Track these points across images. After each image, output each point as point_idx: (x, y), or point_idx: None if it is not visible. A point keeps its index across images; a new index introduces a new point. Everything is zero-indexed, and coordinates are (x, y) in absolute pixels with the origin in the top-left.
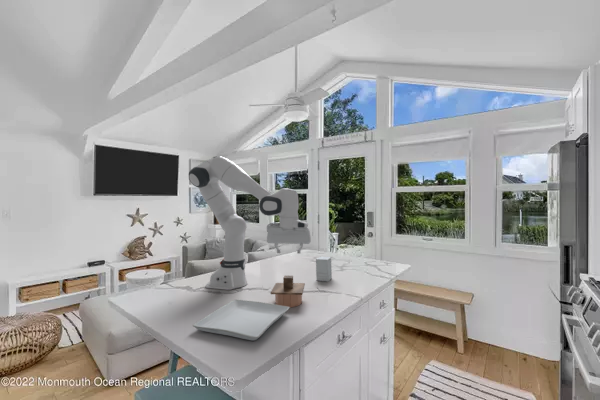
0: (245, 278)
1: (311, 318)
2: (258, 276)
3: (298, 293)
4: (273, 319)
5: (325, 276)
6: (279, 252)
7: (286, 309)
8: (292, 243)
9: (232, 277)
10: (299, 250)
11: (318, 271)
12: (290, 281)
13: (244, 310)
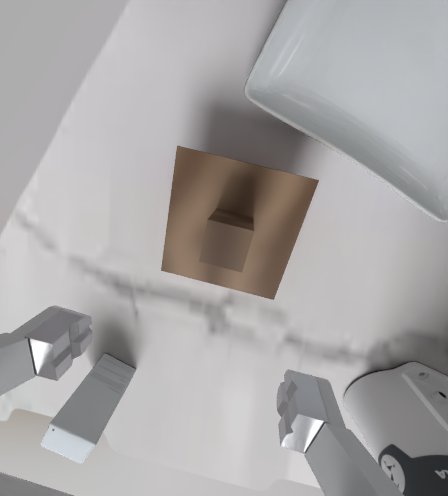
0: (360, 410)
1: (171, 45)
2: None
3: (194, 150)
4: (317, 24)
5: (102, 368)
6: (296, 374)
7: (256, 89)
8: (9, 478)
9: (428, 407)
10: (30, 328)
11: (114, 392)
12: (218, 217)
13: (410, 153)
